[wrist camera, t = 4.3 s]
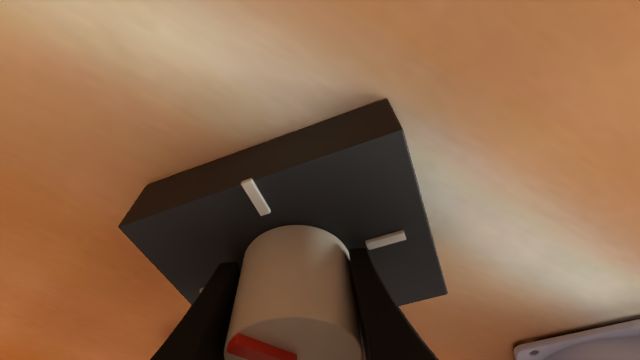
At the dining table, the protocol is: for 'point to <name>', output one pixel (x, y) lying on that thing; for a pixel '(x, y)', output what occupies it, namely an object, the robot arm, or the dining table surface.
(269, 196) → the dimmer panel
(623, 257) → the dining table surface
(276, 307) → the dimmer knob
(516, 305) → the dining table surface
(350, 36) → the dining table surface
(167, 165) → the dining table surface
